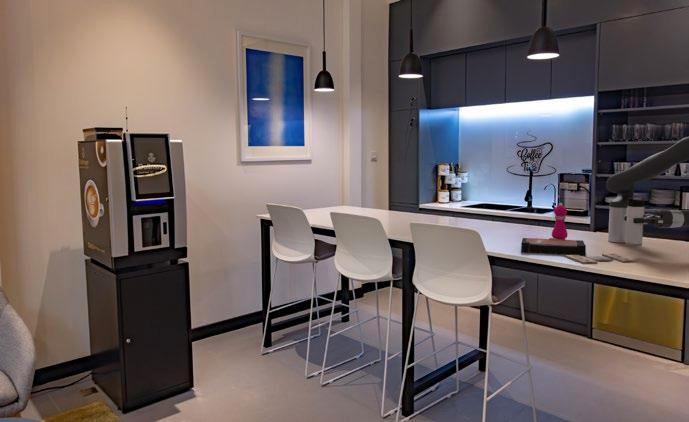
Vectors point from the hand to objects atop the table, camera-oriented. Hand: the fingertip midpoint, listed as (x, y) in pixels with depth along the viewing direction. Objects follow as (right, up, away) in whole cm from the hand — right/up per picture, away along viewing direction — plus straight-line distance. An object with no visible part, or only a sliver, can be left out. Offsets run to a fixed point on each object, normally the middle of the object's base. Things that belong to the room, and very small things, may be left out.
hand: (629, 219), depth 219 cm
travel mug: (+2, -11, +2) cm, 11 cm away
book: (-26, -15, +17) cm, 34 cm away
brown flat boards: (-14, -17, -3) cm, 22 cm away
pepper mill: (-15, -12, +35) cm, 40 cm away
